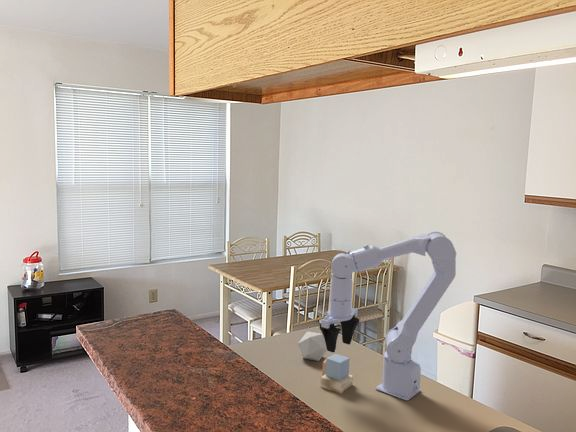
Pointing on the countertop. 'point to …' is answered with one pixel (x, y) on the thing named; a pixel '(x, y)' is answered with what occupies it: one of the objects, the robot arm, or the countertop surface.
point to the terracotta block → (324, 367)
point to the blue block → (337, 367)
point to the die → (312, 346)
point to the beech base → (336, 383)
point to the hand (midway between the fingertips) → (338, 347)
